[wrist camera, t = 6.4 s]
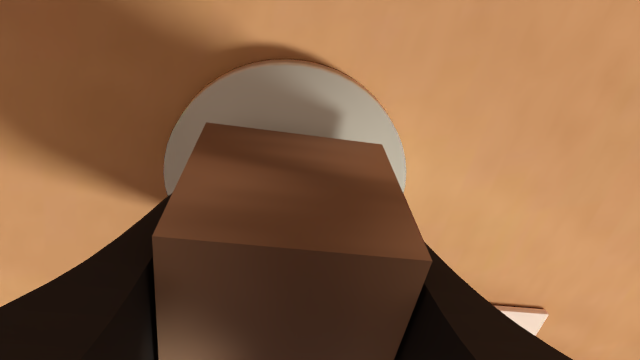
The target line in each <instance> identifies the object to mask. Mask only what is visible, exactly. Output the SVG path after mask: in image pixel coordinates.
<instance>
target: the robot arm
mask: <svg viewBox="0 0 640 360" xmlns="http://www.w3.org/2000/svg"><path fill="white" fill-rule="evenodd" d="M171 195H172V194H170V195H169V196H168V197H166V198H165V199H164V200H163V201H162V202H161V203H159V204H158V205H157V206H156V207H155V208H154V209H153V210H151V211H150V212H149V213H148V214H147V215H145V216H144V217H143V218H142V219H141V220H139V221H138V222H137V223H136V224H134V225H133V226H132V227H131V228H129V229H128V230H127V231H126V232H124V233H123V234H122V235H121V236H119V237H118V238H117V239H115V240H114V241H113V242H111V243H110V244H108V245H107V246H106V247H104V248H103V249H101V250H100V251H99V252H97V253H96V254H94V255H93V256H92V257H90V258H89V259H87V260H86V261H84V262H83V263H81V264H79V265H78V266H76V267H75V268H73V269H71V270H69V271H68V272H66V273H64V274H63V275H61V276H59V277H58V278H56V279H54V280H52V281H51V282H49V283H47V284H45V285H43V286H41V287H39V288H37V289H35V290H33V291H31V292H29V293H27V294H25V295H23V296H22V297H20V298H18V299H16V300H14V301H12V302H10V303H8V304H6V305H4V306H2V307H0V360H159V357H158V338H157V320H156V301H155V283H154V264H153V245H152V235H153V233H154V231H155V229H156V227H157V225H158V222H159V220H160V218H161V216H162V214H163V212H164V210H165V208H166V206H167V204H168V201H169V199H170V197H171ZM424 243H425V242H424ZM425 245H426V247H427V250H428V252H429V254H430V257H431V259H432V264H431V266H430V269H429V271H428V274H427V276H426V279H425V281H424V284H423V287H422V289H421V292H420V294H419V297H418V299H417V302H416V304H415V307H414V310H413V312H412V315H411V317H410V320H409V322H408V325H407V328H406V330H405V333H404V335H403V338H402V340H401V343H400V345H399V348H398V351H397V353H396V356H395V358H394V360H573V359H571V358H569V357H567V356H566V355H564V354H563V353H561V352H559V351H558V350H556V349H554V348H553V347H551V346H550V345H548V344H546V343H545V342H543V341H542V340H540V339H539V338H538V337H536V336H535V335H533V334H532V333H530V332H529V331H527V330H526V329H524V328H523V327H521V326H520V325H518V324H517V323H516V322H514V321H513V320H511V319H510V318H509V317H507V316H506V315H505V314H503V313H502V312H501V311H500V310H498V309H497V308H496V307H495V306H493V305H492V304H491V303H489V302H488V301H487V300H486V299H484V298H483V297H482V296H481V295H480V294H478V293H477V292H476V291H475V290H474V289H473V288H471V287H470V286H469V285H468V284H467V283H466V282H465V281H464V280H463V279H461V278H460V277H459V276H458V275H457V274H456V273H455V272H454V271H453V270H452V269H451V268H450V267H449V266H448V265H447V264H446V263H445V262H444V261H443V260H442V259H441V258H440V257H439V256H438V255H437V254H436V253H435V252H434V251H433V250H432V249H431V248H430V247H429V246H428V245H427V244H426V243H425Z"/></svg>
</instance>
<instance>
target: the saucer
mask: <svg viewBox="0 0 640 360" xmlns="http://www.w3.org/2000/svg"><path fill="white" fill-rule="evenodd" d="M206 122H208V123H216V124H224V125H232V126H240V127H248V128H256V129H264V130H271V131H279V132H287V133H295V134H303V135H311V136H319V137H327V138H335V139H343V140H351V141H359V142H367V143H375V144H382V145H383V148H384V150H385V152H386V155H387V157H388V159H389V162H390V164H391V166H392V168H393V171H394V173H395V175H396V178H397V180H398V182H399V185H400V187H401V189H402V192H403V193H404V188H405V181H406V161H405V155H404V150H403V146H402V143H401V140H400V138H399V135H398V133H397V130H396V129H395V127H394V125H393V123H392V121H391V120H390V118H389V116H388V114H387V113H386V111H385V109H384V108H383V107H382V105H381V104H380V103H379V102H378V100H377V99H376V98H375V97H374V96H373V95H372V94H371V93H370V92H369V91H368V90H367V89H366V88H365V87H364V86H362V85H361V84H359V83H358V82H357V81H355V80H354V79H352V78H351V77H349V76H347V75H345V74H343V73H342V72H340V71H338V70H336V69H333V68H330V67H327V66H325V65H322V64H318V63H313V62H309V61H304V60H293V59H275V60H265V61H260V62H255V63H250V64H247V65H244V66H241V67H238V68H236V69H233V70H231V71H229V72H227V73H225V74H223V75H221V76H220V77H218V78H217V79H215V80H214V81H212V82H211V83H209V84H208V85H207V86H206V87H205V88H203V89H202V90H201V91H200V92H199V93H198V94H197V95H196V96H195V97H194V98H193V100H192V101H191V102H190V103H189V105H188V106H187V107H186V109H185V110H184V112H183V113H182V115H181V117H180V118H179V120H178V122H177V123H176V125H175V127H174V129H173V130H172V133H171V136H170V138H169V141H168V143H167V148H166V153H165V157H164V181H165V188H166V192H167V195H168V196H169V195H170V194H172V193H173V191H174V189H175V187H176V185H177V182H178V180H179V178H180V176H181V174H182V172H183V170H184V168H185V166H186V164H187V161H188V159H189V157H190V155H191V153H192V151H193V149H194V147H195V145H196V143H197V140H198V138H199V136H200V134H201V132H202V130H203V128H204V126H205V124H206Z"/></svg>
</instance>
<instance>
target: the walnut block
mask: <svg viewBox="0 0 640 360" xmlns="http://www.w3.org/2000/svg"><path fill="white" fill-rule="evenodd" d="M152 245H153V264H154V283H155V301H156V320H157V338H158V357H159V360H394V358H395V356H396V353H397V351H398V348H399V345H400V343H401V340H402V338H403V335H404V333H405V330H406V328H407V325H408V322H409V320H410V317H411V315H412V312H413V310H414V307H415V304H416V302H417V299H418V297H419V294H420V292H421V289H422V287H423V284H424V281H425V279H426V276H427V274H428V271H429V269H430V266H431V264H432V259H431V257H430V254H429V252H428V250H427V247H426V245H425V243H424V240H423V238H422V236H421V233H420V231H419V229H418V226H417V224H416V222H415V220H414V217H413V215H412V213H411V210H410V208H409V206H408V203H407V201H406V199H405V196H404V194H403V192H402V189H401V187H400V185H399V182H398V180H397V178H396V175H395V173H394V171H393V168H392V166H391V164H390V162H389V159H388V157H387V155H386V152H385V150H384V148H383V145H382V144H375V143H367V142H359V141H351V140H343V139H335V138H327V137H319V136H311V135H303V134H295V133H287V132H279V131H271V130H264V129H256V128H248V127H240V126H232V125H224V124H216V123H208V122H206V124H205V126H204V128H203V130H202V132H201V134H200V136H199V138H198V140H197V143H196V145H195V147H194V149H193V151H192V153H191V155H190V157H189V159H188V161H187V164H186V166H185V168H184V170H183V172H182V174H181V176H180V178H179V180H178V182H177V185H176V187H175V189H174V191H173V193H172V195H171V197H170V199H169V201H168V204H167V206H166V208H165V210H164V212H163V214H162V216H161V218H160V220H159V222H158V225H157V227H156V229H155V231H154V233H153V235H152Z"/></svg>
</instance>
